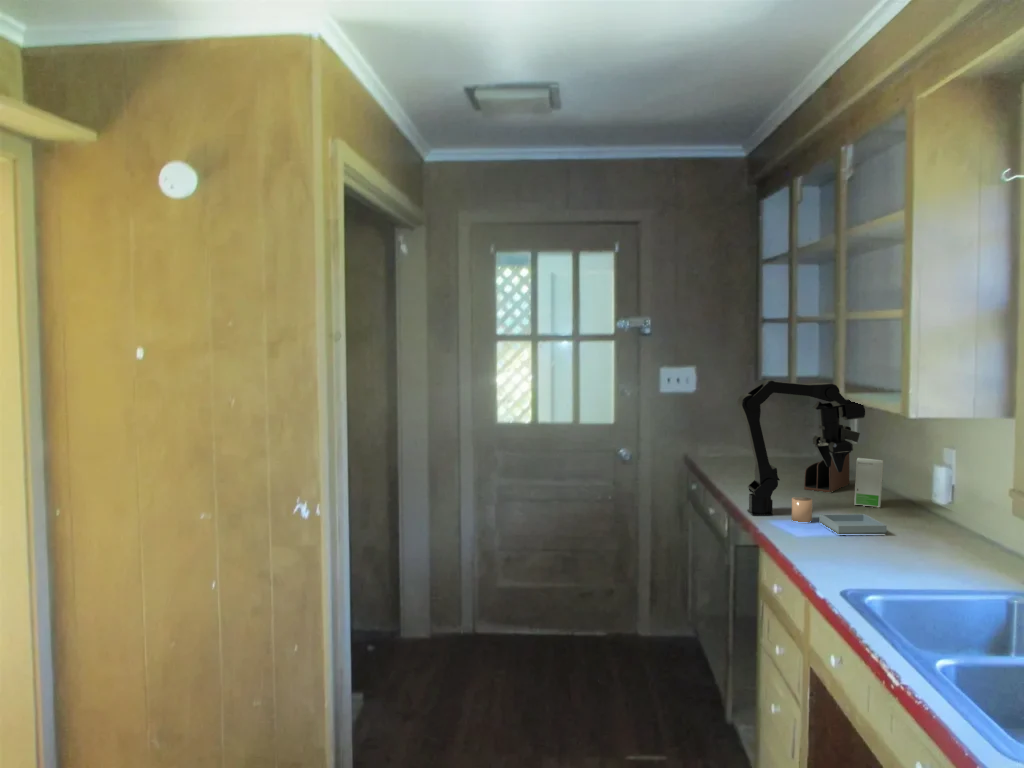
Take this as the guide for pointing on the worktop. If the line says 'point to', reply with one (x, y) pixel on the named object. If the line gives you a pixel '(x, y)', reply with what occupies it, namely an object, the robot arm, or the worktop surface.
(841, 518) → the tray
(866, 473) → the skincare box
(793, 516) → the terracotta cup
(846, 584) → the worktop surface
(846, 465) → the letter holder
